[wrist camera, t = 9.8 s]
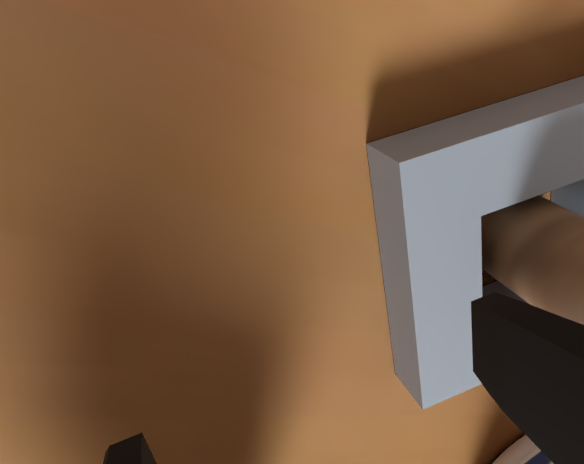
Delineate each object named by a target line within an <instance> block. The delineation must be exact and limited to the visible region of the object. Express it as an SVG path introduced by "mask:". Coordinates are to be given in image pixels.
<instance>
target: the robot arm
mask: <svg viewBox="0 0 584 464" xmlns="http://www.w3.org/2000/svg"><path fill="white" fill-rule="evenodd" d="M471 322H472V355H473V372H474V373H475V375H476V376H477V378H478V379H479V380H480V382H481V383H482V384H483V386H484V387H485V388H486V390H487V391H488V393H489V394H490V395H491V396H492V398H493V399H494V400H495V402H496V403H497V404H498V405H499V407H500V408H501V409H502V410H503V412H504V413H505V414H506V415H507V416H508V417H509V418H510V419H511V420H512V421H513V422H514V423H515V424H516V425H517V426H518V427H519V428H520V429H521V430H522V432H523V433H524V434H525V435H526V436H527V437H528V438H529V439H530V440H531V441H532V442H533V443H534V444H535V445H536V446H537V447H538V448H539V449H540V450H541V451H542V452H543V453H544V454H545V455H546V456H547V457H548V458H549V459H550V460H551V461H552V462H553V463H554V464H584V325H583V324H580V323H577V322H575V321H572V320H569V319H567V318H564V317H561V316H559V315H556V314H553V313H551V312H548V311H546V310H543V309H540V308H538V307H535V306H533V305H530V304H527V303H525V302H522V301H519V300H517V299H514V298H511V297H508V296H506V295H503V294H500V293H497V292H494V293H491V294H489V295H486V296H483V297H481V298H478V299H476V300H473V301H471ZM103 464H156V462H155V459H154V457H153V455H152V453H151V451H150V449H149V447H148V445H147V443H146V440H145V438H144V436H143V434H142V433H140V434H138V435H135V436H133V437H130V438H128V439H125V440H123V441H120V442H118V443H115V444H113V445H110V446H109V448H108V449H107V451H106V453H105V458H104V462H103Z"/></svg>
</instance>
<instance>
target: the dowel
mask: <svg viewBox="0 0 584 464" xmlns="http://www.w3.org/2000/svg"><path fill="white" fill-rule="evenodd" d="M481 241H482V269H483V270H484V271H485V272H487V273H488V274H490V275H491V276H492V277H494V278H495V279H496V280H498V281H499V282H500V283H502V284H503V285H504V286H506V287H507V288H509V289H510V290H511V291H513V292H514V293H515V294H517V295H518V296H519V297H521V298H522V299H524V300H525V301H526V302H528V303H529V304H530V305H533V306H535V307H538V308H540V309H543V310H546V311H548V312H551V313H553V314H556V315H559V316H561V317H564V318H567V319H569V320H572V321H575V322H577V323H580V324H583V325H584V217H583V216H581V215H579V214H577V213H574V212H572V211H570V210H568V209H566V208H564V207H562V206H560V205H558V204H556V203H554V202H552V201H549V200H547V199H545V198H543V197H541V196H539V195H538V196H535V197H533V198H530V199H527V200H524V201H522V202H519V203H516V204H513V205H511V206H508V207H505V208H502V209H500V210H497V211H494V212H491V213H489V214H486V215H483V216H481Z"/></svg>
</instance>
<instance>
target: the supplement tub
mask: <svg viewBox="0 0 584 464" xmlns="http://www.w3.org/2000/svg"><path fill="white" fill-rule="evenodd" d="M492 464H554V463H553V462H552V461H551V460H550V459H549V458H548V457H547V456H546V455H545V454H544V453H543V452H542V451H541V450H540V449H539V448H538V447H537V446H536V445H535V444H534V443H533V442H532V441H531V440H530V439H529V438H528V437H527V436H526V435H524V436H523V437H521V438H520V439H519V440H517V441H516V442H515V443H513V444H512V445H511V446H510V447H508V448H507V449H506V450H505V451H504V452H503V453H502V454H501V455H500V456H499V457H498V458H497V459H496V460H495V461H494V462H493V463H492Z"/></svg>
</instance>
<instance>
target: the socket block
mask: <svg viewBox="0 0 584 464" xmlns="http://www.w3.org/2000/svg"><path fill="white" fill-rule="evenodd" d="M366 146H367V154H368V162H369V169H370V177H371V185H372V193H373V201H374V209H375V217H376V225H377V233H378V241H379V249H380V257H381V265H382V272H383V280H384V288H385V296H386V304H387V312H388V320H389V328H390V336H391V344H392V352H393V360H394V367H395V374H396V376H397V377H398V378H399V380H400V381H401V382H402V383H403V385H404V386H405V387H406V389H407V390H408V391H409V392H410V394H411V395H412V396H413V398H414V399H415V400H416V401H417V403H418V404H419V405H420V407H421V408H422V409H423V410H424V409H426V408H428V407H430V406H433V405H435V404H437V403H440V402H442V401H444V400H446V399H449V398H451V397H453V396H455V395H458V394H460V393H462V392H465V391H467V390H469V389H471V388H474V387H476V386H478V385H481V384H482V383H481V382H480V380H479V379H478V378H477V376H476V375H475V373H474V372H473V355H472V322H471V301H473V300H476V299H478V298H481V297H483V296H486V295H489V294H491V293H494V292H497V293H500V294H503V295H506V296H508V297H511V298H514V299H517V300H519V301H522V302H525V303H527V304H529V303H528V302H526V301H525V300H524V299H522V298H521V297H519V296H518V295H517V294H515V293H514V292H513V291H511V290H510V289H509V288H507V287H506V286H504V285H503V284H502V283H500V282H499V281H495V282H493V283H490V284H488V285H485V286H483V287H482V241H481V216H483V215H486V214H489V213H491V212H494V211H497V210H500V209H502V208H505V207H508V206H511V205H513V204H516V203H519V202H522V201H524V200H527V199H530V198H533V197H535V196H538V195H541V194H544V193H547V192H549V191H551V201H552V202H554V203H556V204H558V205H560V206H562V207H564V208H566V209H568V210H570V211H572V212H574V213H577V214H579V215H581V216H583V217H584V76H581V77H578V78H574V79H571V80H568V81H565V82H562V83H558V84H555V85H552V86H549V87H546V88H543V89H539V90H536V91H533V92H530V93H527V94H523V95H520V96H517V97H514V98H511V99H507V100H504V101H501V102H498V103H495V104H491V105H488V106H485V107H482V108H479V109H475V110H472V111H469V112H466V113H463V114H459V115H456V116H453V117H450V118H447V119H443V120H440V121H437V122H434V123H431V124H427V125H424V126H421V127H418V128H415V129H411V130H408V131H405V132H402V133H399V134H395V135H392V136H389V137H386V138H383V139H379V140H376V141H373V142H370V143H367V144H366Z"/></svg>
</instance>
